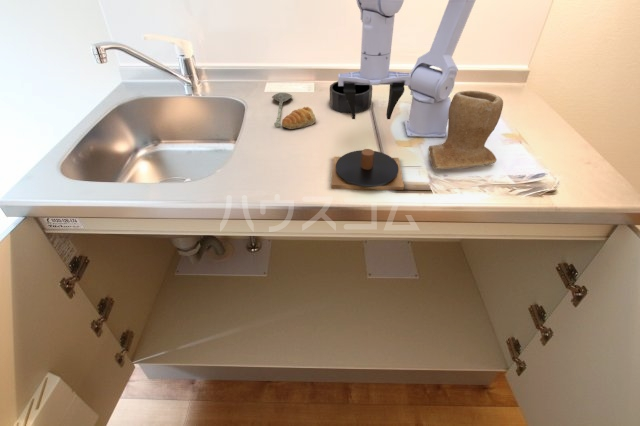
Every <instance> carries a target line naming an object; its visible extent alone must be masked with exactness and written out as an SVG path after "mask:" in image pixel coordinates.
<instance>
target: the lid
mask: <svg viewBox="0 0 640 426" xmlns="http://www.w3.org/2000/svg"><path fill="white" fill-rule="evenodd" d="M339 157H340V158H339V159H338V161H337V163H336V172H337V174H338V176H339V177H340V178H341V179H342V180H344V181H346V182H347V183H350V184H352V185H356V186H361V187H377V186H382V185H385V184H387V183H389V182H391V181H392V180H394V179H395V178H396V176H397V174H398V170H399V168H398V164H397V163H396V161H395V160H394V159H393V158H394V157H392V156H390V155H389V154H386V153H385V152H384V153H383V152H381V151H377V150H373V149H370V148H364V149H360V150H354V151H350V152H347V153H345V154H343V155H342V156H339Z"/></svg>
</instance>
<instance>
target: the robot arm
mask: <svg viewBox="0 0 640 426" xmlns="http://www.w3.org/2000/svg"><path fill="white" fill-rule="evenodd" d="M404 2H405V0H356V4H357V7H358V9H359V11H360V21H361V24H362V27H361V46H360V47H361V48H360V65H359V66H360V69H359V70H360V71H359V70H358V71H351V72H347V73H346V72H345V73H344V72H342V73H338V75H337V76H338V77H337V81H338V86H344V94H345V96H346V98H347V100H348V103H349V106H350V109H351V113H350V114H351V120H356V113H355V88H356V87H355V85H372V86H381V85H382V86H383V85H384V86H385V85H386V86H387V85H388V86H389V89H388V91H389V92H388V101H387V106H386V107H387V108H386V114H385V116H386V120H391V118H392V115H393V112H394V109H395V108H396V106H397V103H398V102H399V101H400V99H401V97H402V96H403V95H404V92H405V86H406V87H407V88H408V90H409V91H410V95H411V96H412V97H411V103H410V109H409V115H408V120H405V121H404V127H405V131H406V136H407V137H423V138H425V137H427V138H431V137H432V138H442V137H443V138H445V137H446V131H447V128H448V121H449V117H448V113H449V107H450V103H451V101H452V99H451V97H449V96H450V95H451V93H452V91H453V89H454V87H455V81H456V78H457V74H458V73H459V69H458V67H457V64H456V63H455V61H454V59H453V56H454V53H455V50H456V48H457V46H458V43H459V41H460V39H461V36H462V34H463V31H464V29H465V26H466V24H467V22H468V19H469V18H470V14H471V12H472V10H473V7H474V5H475V3H476V0H448V2H447V4H446V7H445V9H444V12H443V15H442V18H441V19H440V23H439V25H438V27H437V30H436V33H435V35H434V38H433V41H432V44H431V45H430V49H429V51H428V52H426V53H424V54H422V55H420V56H419V57H418V58H417V60H416V62H415V64H414V66H413V68H412V69H411V70H410V72H403V71H401V72H400V71H391V70H390V65H391V64H390V63H391V53H392V46H393V37H394V36H393V35H394V26H395V16H396V14H397V13H399V12H400V10H401V9H402V7H403V4H404ZM432 67H433V68H432ZM434 67H436V68H439V69H440V70H439V69H435V68H434Z"/></svg>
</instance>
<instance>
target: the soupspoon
mask: <svg viewBox="0 0 640 426" xmlns="http://www.w3.org/2000/svg"><path fill="white" fill-rule="evenodd" d="M271 98H272V99H273V100H275V101H277V102H279V103H278V111H277V117H276V120H275V122H274V124H273V126H274V127H276V128H281V126H282V123H281V114H282V107H283V103H284V102H287V101H289V100H290V99H291V98H293V95H292V94H290V93H289V92H277V93H275V94H273V95H272V96H271Z"/></svg>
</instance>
